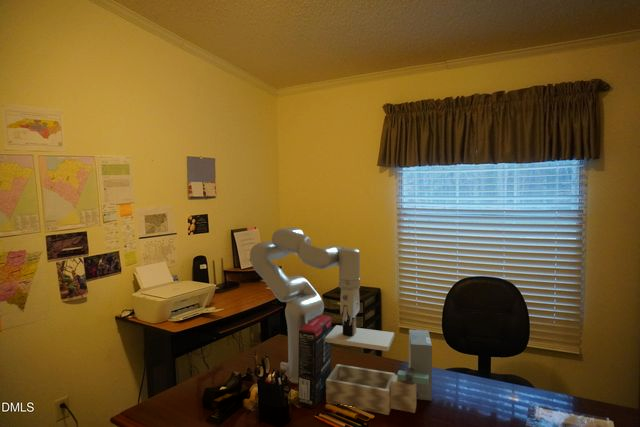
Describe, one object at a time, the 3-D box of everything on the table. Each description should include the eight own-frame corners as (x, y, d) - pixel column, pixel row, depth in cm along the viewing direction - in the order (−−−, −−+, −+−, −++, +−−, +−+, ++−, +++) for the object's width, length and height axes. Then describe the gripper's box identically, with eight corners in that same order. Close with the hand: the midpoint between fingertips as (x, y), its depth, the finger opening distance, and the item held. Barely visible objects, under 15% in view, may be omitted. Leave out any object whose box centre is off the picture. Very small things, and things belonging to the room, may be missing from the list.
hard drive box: (432, 401, 127) (432, 346, 127) (409, 399, 129) (409, 344, 128) (428, 379, 143) (428, 329, 142) (408, 377, 144) (408, 328, 143)
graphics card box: (315, 382, 141) (315, 313, 140) (332, 385, 139) (332, 315, 138) (297, 406, 125) (296, 329, 124) (316, 410, 123) (315, 331, 122)
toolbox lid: (325, 341, 127) (324, 323, 126) (336, 328, 139) (336, 312, 139) (388, 351, 119) (388, 331, 119) (394, 336, 131) (394, 319, 131)
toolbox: (326, 402, 128) (325, 367, 127) (337, 384, 140) (337, 352, 139) (413, 419, 117) (413, 381, 117) (417, 398, 129) (417, 363, 129)
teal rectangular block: (397, 379, 123) (397, 374, 123) (398, 375, 126) (398, 370, 126) (427, 384, 120) (427, 379, 120) (428, 380, 123) (428, 374, 123)
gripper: (353, 289, 120) (353, 343, 121) (365, 278, 136) (365, 326, 137) (332, 287, 123) (332, 340, 124) (345, 277, 138) (345, 324, 139)
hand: (349, 332), depth 130 cm, fingers closed on toolbox lid, 3 cm apart
